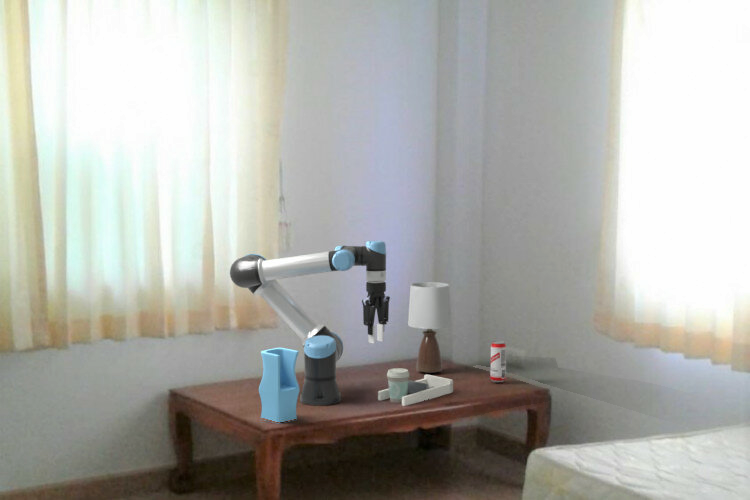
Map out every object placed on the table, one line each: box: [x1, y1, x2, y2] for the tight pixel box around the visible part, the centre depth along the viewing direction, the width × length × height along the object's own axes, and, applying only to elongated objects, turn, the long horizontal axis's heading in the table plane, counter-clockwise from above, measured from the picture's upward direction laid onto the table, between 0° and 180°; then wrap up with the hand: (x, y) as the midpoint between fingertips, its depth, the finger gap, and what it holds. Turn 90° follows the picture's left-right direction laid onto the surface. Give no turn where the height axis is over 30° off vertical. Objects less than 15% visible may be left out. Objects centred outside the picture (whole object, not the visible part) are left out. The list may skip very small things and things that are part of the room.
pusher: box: [407, 379, 434, 395], centre depth 351 cm, size 10×9×5 cm
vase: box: [258, 347, 300, 422], centre depth 312 cm, size 10×10×25 cm
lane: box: [377, 373, 454, 407], centre depth 347 cm, size 29×13×5 cm, turn 137°
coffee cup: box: [386, 367, 410, 404], centre depth 339 cm, size 8×8×12 cm
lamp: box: [407, 281, 452, 374], centre depth 389 cm, size 19×19×37 cm
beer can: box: [489, 340, 507, 383], centre depth 371 cm, size 6×6×16 cm
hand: (376, 341), depth 348 cm, fingers open, 4 cm apart
